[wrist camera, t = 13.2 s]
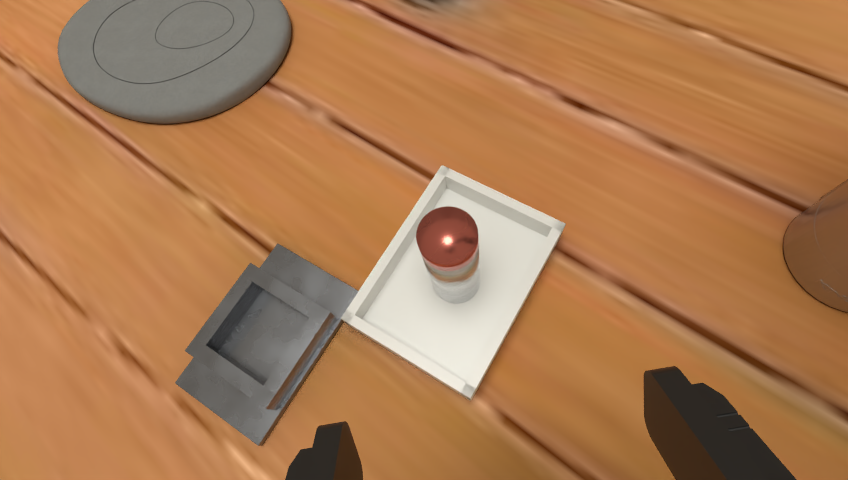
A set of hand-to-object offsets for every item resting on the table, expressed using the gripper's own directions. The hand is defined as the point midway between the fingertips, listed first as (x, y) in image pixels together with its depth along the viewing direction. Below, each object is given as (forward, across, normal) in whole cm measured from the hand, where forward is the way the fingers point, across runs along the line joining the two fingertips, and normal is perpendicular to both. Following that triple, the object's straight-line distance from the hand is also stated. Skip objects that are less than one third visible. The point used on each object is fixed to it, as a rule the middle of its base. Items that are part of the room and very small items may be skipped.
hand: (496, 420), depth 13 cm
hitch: (+24, +16, +11) cm, 32 cm away
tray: (+26, 0, +10) cm, 28 cm away
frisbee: (+50, +26, -13) cm, 58 cm away
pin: (+26, 0, +10) cm, 27 cm away
